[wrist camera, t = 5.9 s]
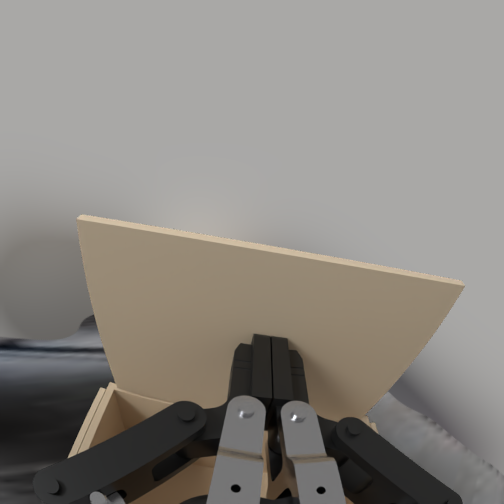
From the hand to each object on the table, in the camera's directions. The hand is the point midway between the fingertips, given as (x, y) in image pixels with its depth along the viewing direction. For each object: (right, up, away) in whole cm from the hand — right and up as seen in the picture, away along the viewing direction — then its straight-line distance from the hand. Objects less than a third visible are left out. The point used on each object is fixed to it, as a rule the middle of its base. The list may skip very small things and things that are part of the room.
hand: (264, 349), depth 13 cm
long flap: (-1, -6, +4) cm, 7 cm away
